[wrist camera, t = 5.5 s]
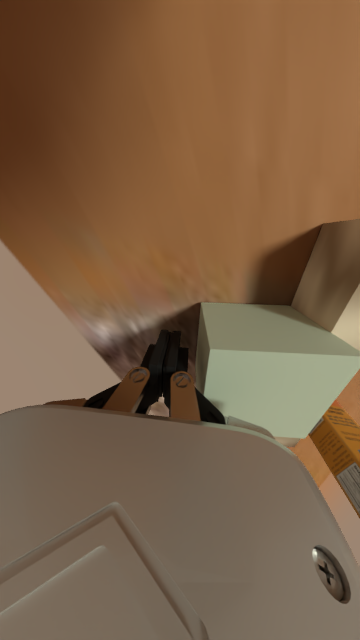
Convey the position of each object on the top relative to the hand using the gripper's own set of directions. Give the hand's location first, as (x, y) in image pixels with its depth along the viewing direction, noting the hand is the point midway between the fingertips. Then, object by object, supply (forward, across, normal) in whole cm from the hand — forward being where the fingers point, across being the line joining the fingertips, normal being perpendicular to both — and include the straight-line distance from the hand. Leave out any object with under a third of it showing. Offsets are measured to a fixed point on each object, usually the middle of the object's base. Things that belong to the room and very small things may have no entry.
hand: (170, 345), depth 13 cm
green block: (+2, -6, 0) cm, 6 cm away
